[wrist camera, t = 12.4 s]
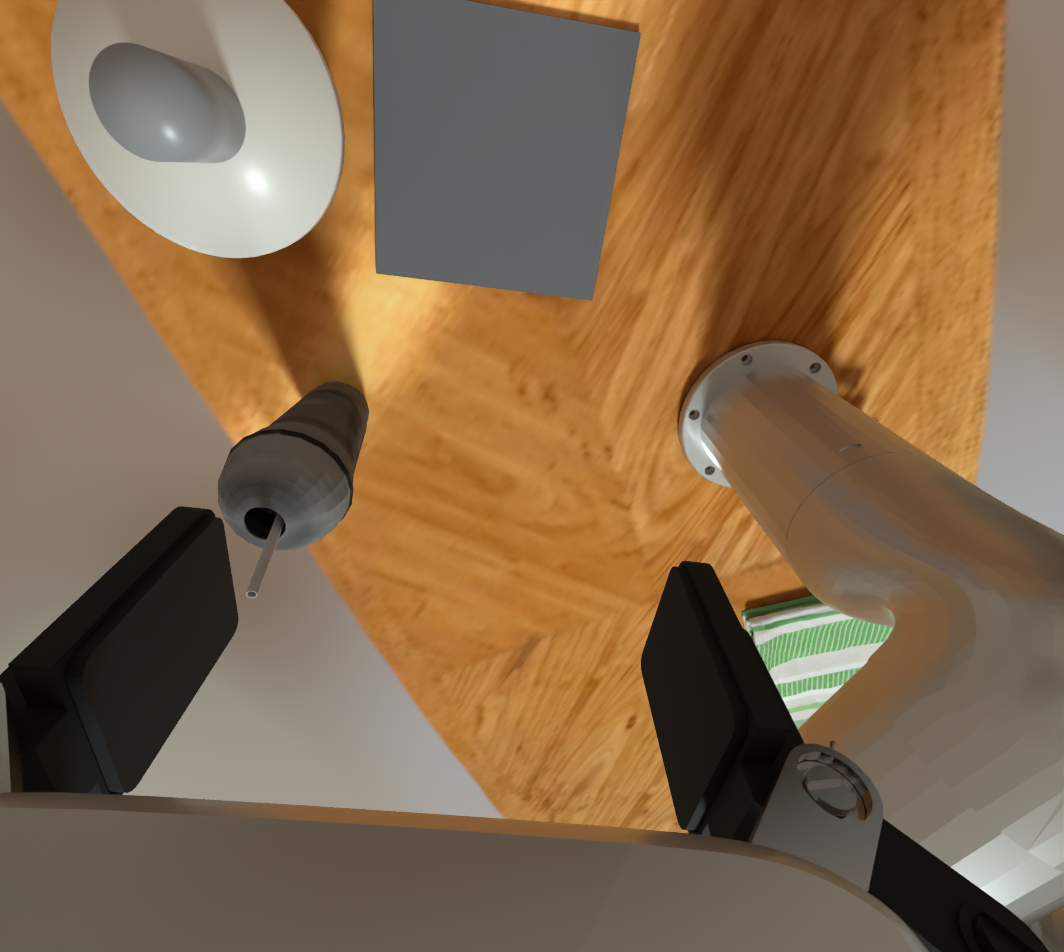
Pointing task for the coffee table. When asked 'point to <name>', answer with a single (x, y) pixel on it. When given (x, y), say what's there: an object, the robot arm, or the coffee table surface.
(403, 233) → the mat
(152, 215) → the lid
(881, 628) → the dish towel
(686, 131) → the coffee table surface
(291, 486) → the beverage cup
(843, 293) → the coffee table surface
